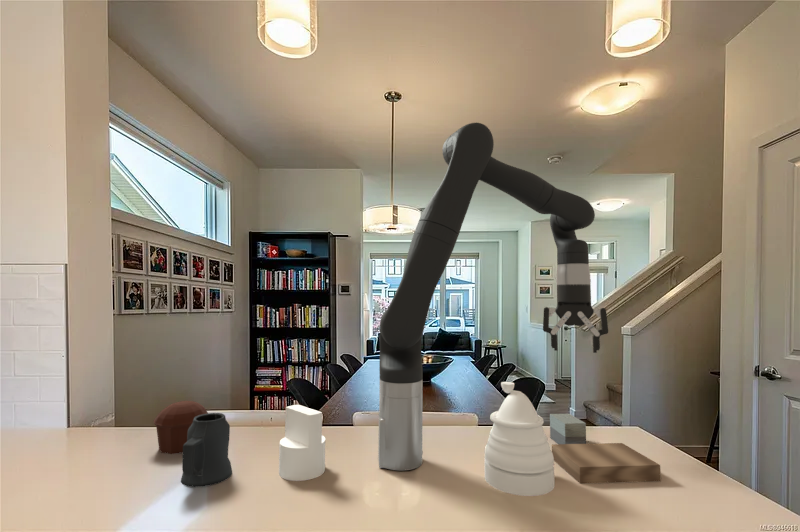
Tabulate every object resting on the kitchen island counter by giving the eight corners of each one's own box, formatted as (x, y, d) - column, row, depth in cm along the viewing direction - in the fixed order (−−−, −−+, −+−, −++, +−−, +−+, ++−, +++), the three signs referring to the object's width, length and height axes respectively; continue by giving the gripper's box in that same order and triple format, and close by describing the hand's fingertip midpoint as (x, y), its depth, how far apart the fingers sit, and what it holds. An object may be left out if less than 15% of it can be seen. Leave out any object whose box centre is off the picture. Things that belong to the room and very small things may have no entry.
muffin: (181, 436, 102) (183, 395, 103) (218, 440, 99) (220, 398, 100) (139, 453, 91) (141, 407, 92) (180, 459, 88) (182, 411, 89)
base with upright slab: (270, 471, 82) (271, 409, 83) (308, 458, 89) (309, 401, 90) (295, 485, 76) (296, 418, 77) (334, 470, 83) (335, 409, 84)
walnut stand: (580, 483, 78) (579, 467, 78) (551, 458, 89) (551, 444, 90) (660, 481, 79) (660, 465, 79) (622, 457, 91) (621, 442, 91)
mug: (197, 465, 85) (199, 410, 85) (240, 467, 84) (242, 410, 85) (160, 493, 73) (163, 428, 74) (210, 495, 72) (213, 429, 73)
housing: (565, 450, 95) (564, 423, 95) (550, 438, 103) (549, 413, 103) (586, 449, 95) (585, 423, 96) (569, 438, 103) (569, 413, 104)
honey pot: (472, 482, 78) (472, 385, 79) (500, 461, 88) (499, 375, 89) (541, 503, 70) (538, 395, 71) (563, 477, 80) (560, 383, 82)
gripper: (541, 283, 99) (542, 351, 98) (607, 282, 93) (610, 355, 92) (543, 284, 106) (544, 348, 104) (605, 283, 100) (607, 351, 99)
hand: (575, 351), depth 98 cm, fingers open, 8 cm apart
